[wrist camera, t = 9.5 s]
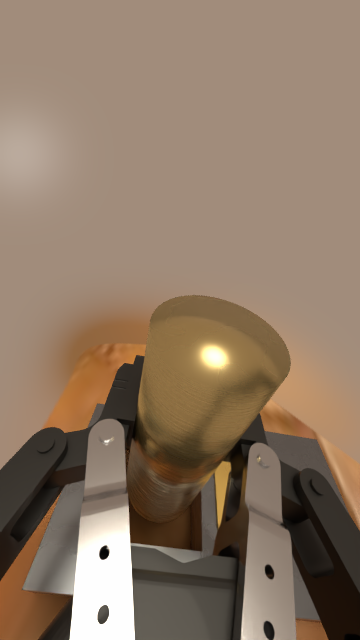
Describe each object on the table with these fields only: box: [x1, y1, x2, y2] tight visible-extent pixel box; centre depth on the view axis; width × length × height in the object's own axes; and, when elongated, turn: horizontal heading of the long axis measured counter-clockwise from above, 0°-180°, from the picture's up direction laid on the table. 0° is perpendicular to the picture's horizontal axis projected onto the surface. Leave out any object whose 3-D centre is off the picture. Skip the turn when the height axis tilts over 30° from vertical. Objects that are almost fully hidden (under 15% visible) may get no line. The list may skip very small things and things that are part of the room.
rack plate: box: [22, 403, 349, 622], centre depth 16 cm, size 20×10×3 cm, turn 86°
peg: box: [126, 295, 291, 523], centre depth 10 cm, size 4×4×12 cm
